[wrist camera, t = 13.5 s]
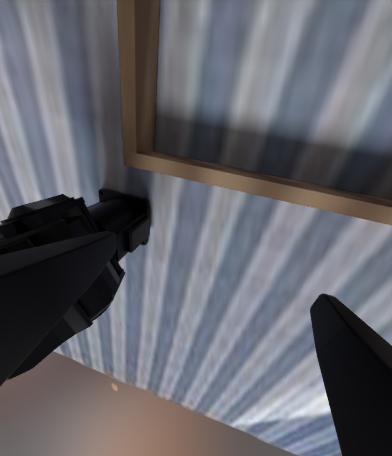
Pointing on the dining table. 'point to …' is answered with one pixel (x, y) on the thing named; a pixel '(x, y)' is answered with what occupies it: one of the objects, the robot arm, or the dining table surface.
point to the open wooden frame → (195, 169)
